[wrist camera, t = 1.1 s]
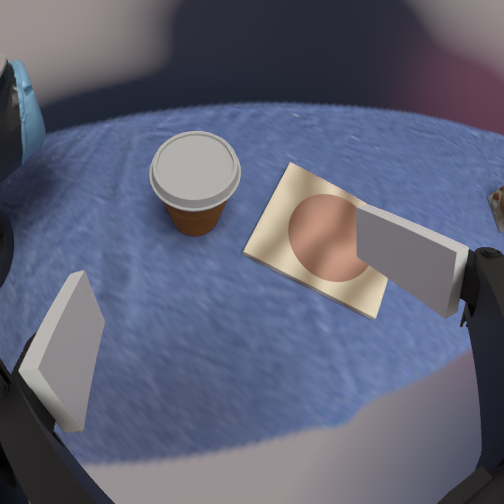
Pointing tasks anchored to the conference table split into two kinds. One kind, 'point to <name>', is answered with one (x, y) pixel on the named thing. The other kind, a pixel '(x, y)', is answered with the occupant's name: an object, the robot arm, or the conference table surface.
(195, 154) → the disposable coffee cup
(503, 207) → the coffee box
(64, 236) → the conference table surface
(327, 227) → the birch board
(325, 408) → the conference table surface
